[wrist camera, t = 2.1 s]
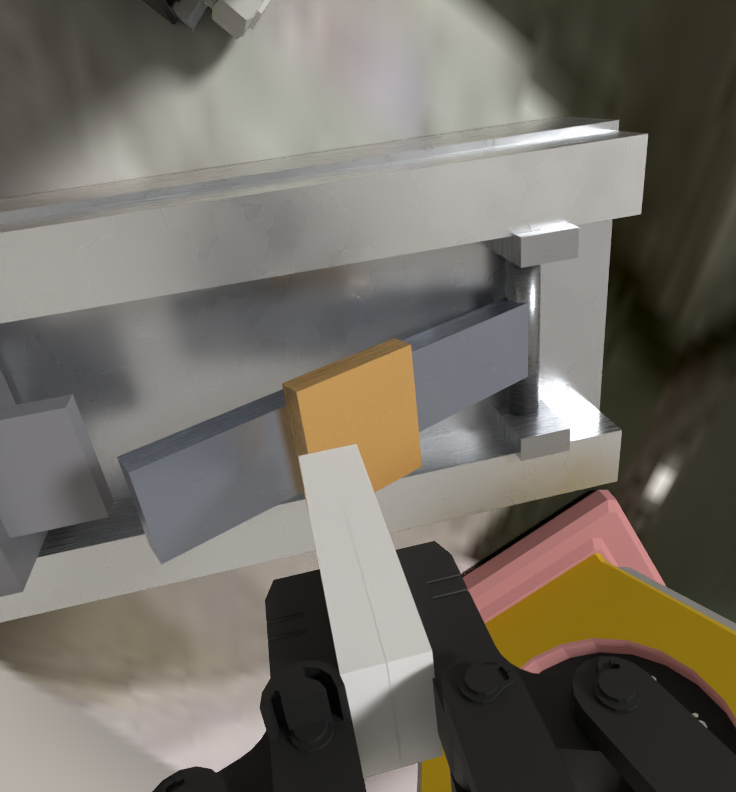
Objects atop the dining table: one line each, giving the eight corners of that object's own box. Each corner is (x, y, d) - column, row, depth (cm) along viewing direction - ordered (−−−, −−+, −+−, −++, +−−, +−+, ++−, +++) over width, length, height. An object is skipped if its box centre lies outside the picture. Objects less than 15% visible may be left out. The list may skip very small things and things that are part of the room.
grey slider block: (-116, 344, 20) (-208, 411, 15) (77, 311, 20) (38, 367, 16) (-24, 520, 23) (-80, 614, 19) (139, 487, 24) (120, 569, 20)
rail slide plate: (-117, 215, 22) (-254, 264, 16) (564, 116, 25) (673, 123, 19) (29, 523, 28) (-27, 643, 22) (555, 412, 31) (634, 490, 25)
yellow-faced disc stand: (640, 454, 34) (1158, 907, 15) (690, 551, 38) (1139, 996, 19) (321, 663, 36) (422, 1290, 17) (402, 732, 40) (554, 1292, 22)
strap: (94, 398, 15) (116, 424, 14) (522, 245, 23) (564, 252, 21) (164, 588, 18) (188, 626, 17) (521, 397, 26) (559, 412, 24)
